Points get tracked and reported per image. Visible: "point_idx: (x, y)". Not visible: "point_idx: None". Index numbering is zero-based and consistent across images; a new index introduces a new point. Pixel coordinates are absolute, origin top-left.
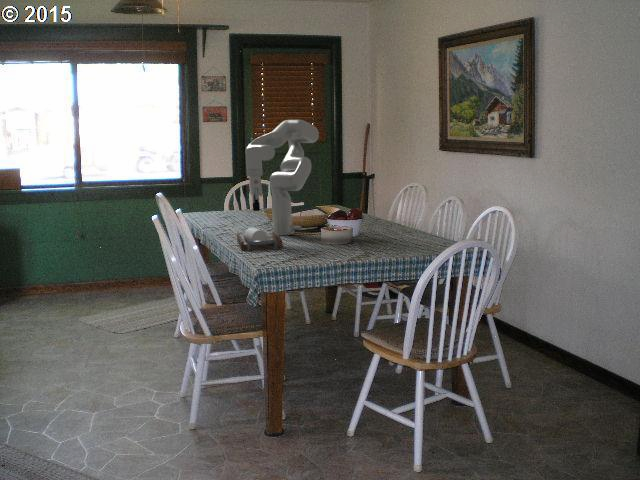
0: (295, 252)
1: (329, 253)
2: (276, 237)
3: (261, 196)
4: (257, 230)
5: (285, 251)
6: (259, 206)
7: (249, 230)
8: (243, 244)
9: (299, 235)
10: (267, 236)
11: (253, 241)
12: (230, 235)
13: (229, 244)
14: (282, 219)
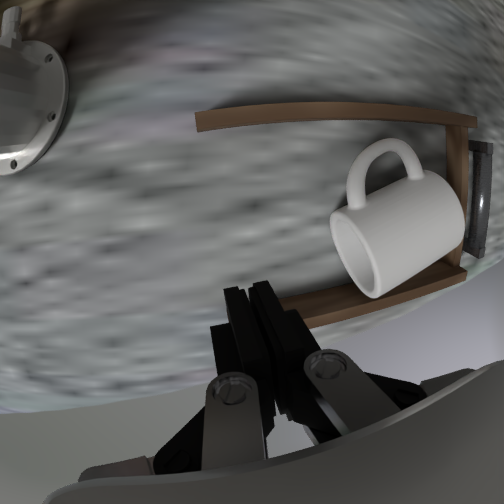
0: (496, 95)
1: (499, 21)
2: (400, 119)
3: (483, 366)
4: (464, 231)
5: (485, 119)
6: (283, 310)
7: (411, 275)
8: (459, 267)
9: (80, 8)
10: (433, 172)
11: (486, 234)
12: (63, 354)
13: (313, 334)
14: (3, 80)
